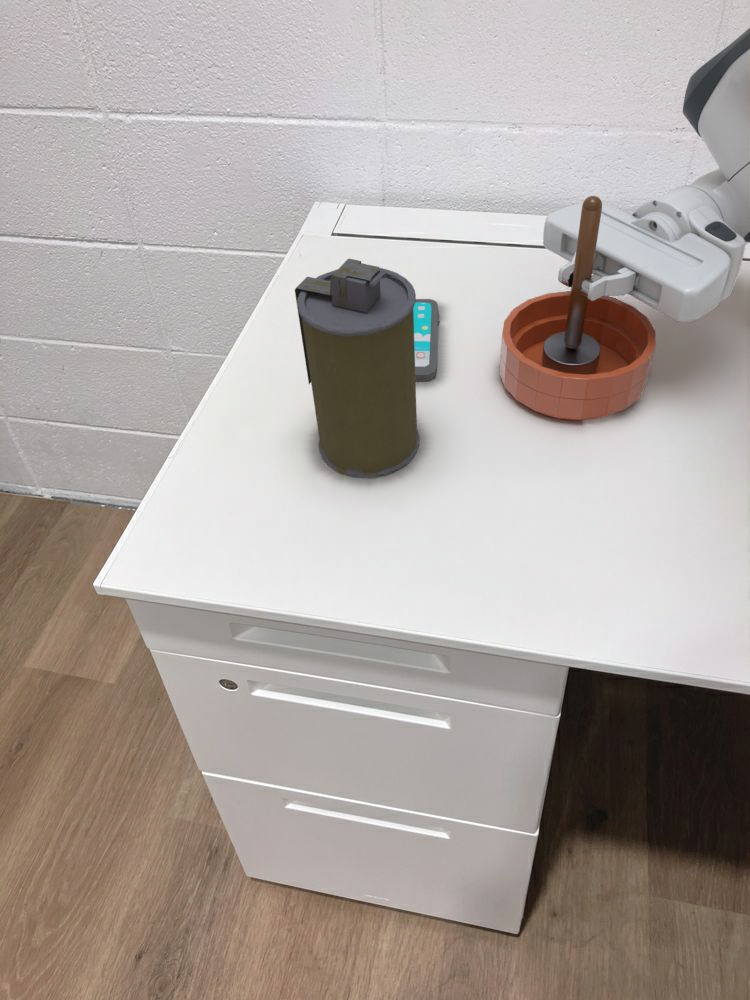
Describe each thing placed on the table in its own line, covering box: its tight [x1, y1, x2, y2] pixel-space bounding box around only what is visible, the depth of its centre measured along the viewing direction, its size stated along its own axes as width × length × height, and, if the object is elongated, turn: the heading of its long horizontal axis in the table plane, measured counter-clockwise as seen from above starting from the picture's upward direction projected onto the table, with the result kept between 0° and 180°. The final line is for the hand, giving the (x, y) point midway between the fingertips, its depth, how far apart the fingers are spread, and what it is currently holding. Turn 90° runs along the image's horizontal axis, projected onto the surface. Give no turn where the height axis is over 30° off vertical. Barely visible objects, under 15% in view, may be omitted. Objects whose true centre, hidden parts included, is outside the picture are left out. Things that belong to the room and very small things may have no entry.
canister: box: [294, 258, 420, 479], centre depth 76 cm, size 11×10×20 cm
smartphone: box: [413, 298, 440, 382], centre depth 94 cm, size 9×1×15 cm
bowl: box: [498, 290, 657, 421], centre depth 86 cm, size 16×16×6 cm
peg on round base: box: [542, 195, 603, 375], centre depth 80 cm, size 6×6×19 cm
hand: (574, 284), depth 79 cm, fingers closed on peg on round base
